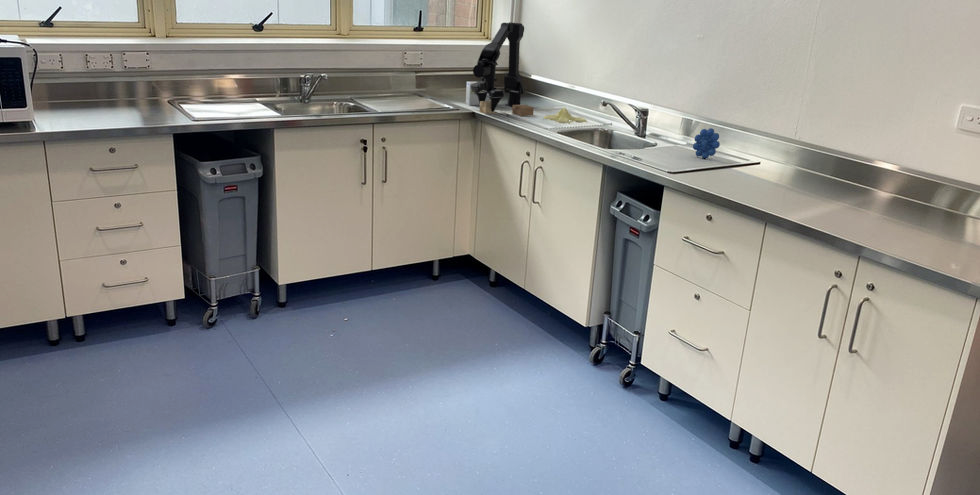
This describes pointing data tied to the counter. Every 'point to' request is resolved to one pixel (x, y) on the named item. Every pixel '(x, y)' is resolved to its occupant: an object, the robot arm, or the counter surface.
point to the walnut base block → (522, 110)
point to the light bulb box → (473, 95)
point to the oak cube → (485, 107)
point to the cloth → (564, 117)
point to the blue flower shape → (706, 143)
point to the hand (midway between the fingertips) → (486, 109)
